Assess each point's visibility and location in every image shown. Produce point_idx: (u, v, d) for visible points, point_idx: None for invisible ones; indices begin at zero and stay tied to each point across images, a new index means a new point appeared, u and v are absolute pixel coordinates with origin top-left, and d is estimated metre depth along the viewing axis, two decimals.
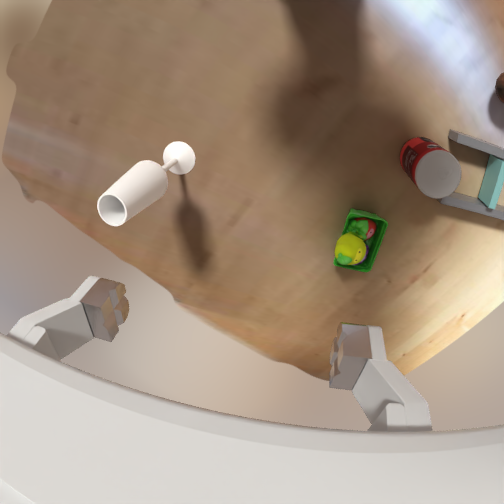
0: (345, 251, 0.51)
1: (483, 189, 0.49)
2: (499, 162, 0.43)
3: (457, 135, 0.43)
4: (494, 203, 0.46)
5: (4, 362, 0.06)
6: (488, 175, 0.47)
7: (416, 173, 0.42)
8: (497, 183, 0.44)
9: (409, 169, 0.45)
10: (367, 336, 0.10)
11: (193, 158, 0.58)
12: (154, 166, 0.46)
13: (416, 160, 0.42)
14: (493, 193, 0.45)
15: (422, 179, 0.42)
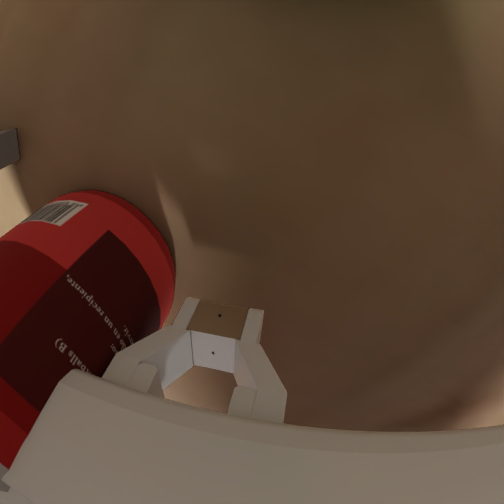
0: None
1: None
2: None
3: None
4: None
5: None
6: None
7: None
8: None
9: None
10: (243, 318, 0.10)
11: None
12: None
13: None
14: None
15: None
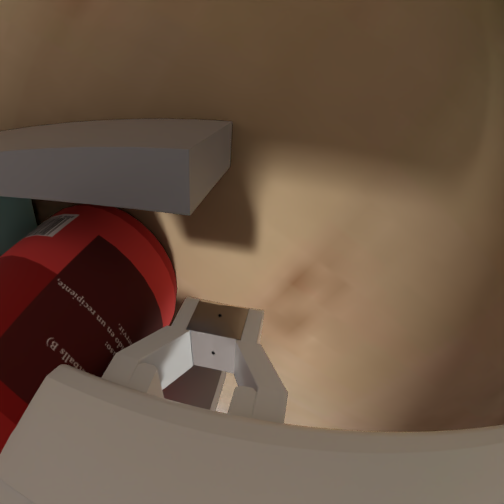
0: None
1: (18, 220, 0.12)
2: None
3: None
4: None
5: None
6: None
7: None
8: None
9: None
10: (244, 318, 0.10)
11: None
12: None
13: None
14: None
15: None
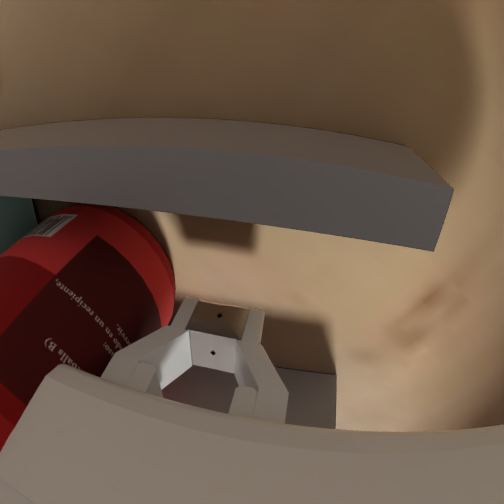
0: None
1: (18, 220, 0.12)
2: None
3: None
4: None
5: None
6: None
7: None
8: None
9: None
10: (244, 318, 0.10)
11: None
12: None
13: None
14: None
15: None
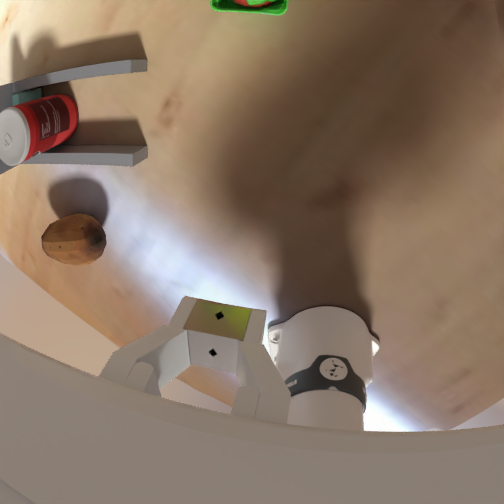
0: None
1: None
2: None
3: (134, 162, 0.37)
4: (14, 102, 0.32)
5: (4, 362, 0.06)
6: None
7: (25, 125, 0.28)
8: None
9: (44, 115, 0.31)
10: (246, 318, 0.10)
11: None
12: None
13: (36, 135, 0.30)
14: None
15: (18, 122, 0.28)
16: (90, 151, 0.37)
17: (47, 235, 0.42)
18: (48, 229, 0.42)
